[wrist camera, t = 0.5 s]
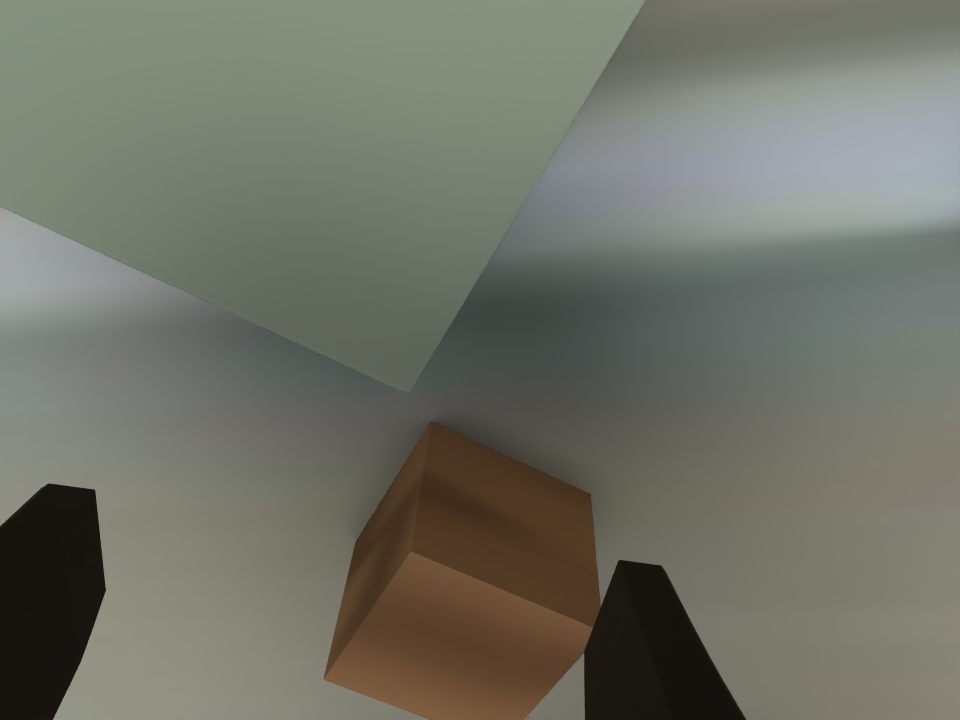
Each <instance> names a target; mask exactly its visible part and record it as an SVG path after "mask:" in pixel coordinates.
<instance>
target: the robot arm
mask: <svg viewBox="0 0 960 720" xmlns="http://www.w3.org/2000/svg"><path fill="white" fill-rule="evenodd" d="M105 591H106V588H105V579H104V569H103V560H102V550H101V541H100V531H99V522H98V512H97V503H96V494H95V490H94V489H86V488H79V487H71V486H64V485H56V484H47V485H46V486H44V487H42V488H41V489H40V490H39V491H38V492H37V493H36V494H34V495H33V496H32V497H31V498H30V499H29V500H28V501H27V502H26V503H25V504H24V505H23V506H22V507H20V508H19V509H18V510H17V511H16V512H15V513H14V514H13V515H12V516H11V517H10V518H9V519H8V520H7V521H5V522H4V523H3V524H2V525H1V526H0V720H53V718H54V716H55V714H56V712H57V710H58V708H59V706H60V704H61V702H62V700H63V698H64V696H65V694H66V691H67V689H68V687H69V685H70V683H71V681H72V679H73V677H74V675H75V673H76V671H77V669H78V666H79V664H80V662H81V660H82V657H83V654H84V651H85V649H86V646H87V643H88V640H89V638H90V635H91V632H92V629H93V626H94V623H95V621H96V618H97V615H98V612H99V609H100V606H101V603H102V600H103V597H104V594H105ZM584 685H585V720H746V719H745V717H744V715H743V713H742V712H741V710H740V708H739V707H738V705H737V703H736V702H735V700H734V698H733V696H732V695H731V693H730V691H729V690H728V688H727V686H726V684H725V683H724V681H723V679H722V678H721V676H720V674H719V672H718V671H717V669H716V667H715V665H714V663H713V662H712V660H711V658H710V656H709V654H708V653H707V651H706V649H705V647H704V645H703V643H702V641H701V639H700V638H699V636H698V634H697V632H696V630H695V628H694V626H693V624H692V622H691V621H690V619H689V617H688V615H687V613H686V611H685V609H684V607H683V605H682V603H681V601H680V599H679V597H678V595H677V593H676V591H675V589H674V587H673V585H672V583H671V581H670V579H669V577H668V575H667V573H666V572H665V570H664V569H663V567H662V566H660V565H653V564H646V563H638V562H631V561H623V560H619V561H618V564H617V566H616V569H615V572H614V574H613V577H612V579H611V582H610V585H609V587H608V590H607V592H606V595H605V598H604V600H603V603H602V606H601V608H600V611H599V613H598V616H597V619H596V621H595V624H594V626H593V629H592V632H591V634H590V637H589V640H588V642H587V645H586V647H585V650H584Z"/></svg>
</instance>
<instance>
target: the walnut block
mask: <svg viewBox="0 0 960 720" xmlns="http://www.w3.org/2000/svg"><path fill="white" fill-rule="evenodd" d="M600 608H601V605H600V594H599V583H598V572H597V561H596V549H595V538H594V527H593V516H592V505H591V494H589V493H587V492H584V491H582V490H580V489H578V488H576V487H573V486H571V485H569V484H567V483H565V482H562V481H560V480H558V479H556V478H554V477H551V476H549V475H547V474H545V473H543V472H540V471H538V470H536V469H534V468H532V467H529V466H527V465H525V464H523V463H521V462H518V461H516V460H514V459H512V458H510V457H508V456H505V455H503V454H501V453H499V452H497V451H494V450H492V449H490V448H488V447H486V446H483V445H481V444H479V443H477V442H475V441H472V440H470V439H468V438H466V437H464V436H461V435H459V434H457V433H455V432H453V431H450V430H448V429H446V428H444V427H442V426H439V425H437V424H435V423H433V422H431V423H430V424H429V426H428V427H427V429H426V431H425V432H424V434H423V435H422V437H421V439H420V440H419V442H418V443H417V445H416V447H415V448H414V450H413V451H412V453H411V455H410V456H409V458H408V459H407V461H406V462H405V464H404V466H403V467H402V469H401V470H400V472H399V474H398V475H397V477H396V478H395V480H394V482H393V483H392V485H391V486H390V488H389V490H388V491H387V493H386V494H385V496H384V497H383V499H382V501H381V502H380V504H379V505H378V507H377V509H376V510H375V512H374V513H373V515H372V517H371V518H370V520H369V521H368V523H367V525H366V526H365V528H364V529H363V531H362V532H361V534H360V536H359V537H358V539H357V540H356V543H355V547H354V551H353V556H352V560H351V564H350V568H349V573H348V577H347V581H346V586H345V590H344V594H343V598H342V603H341V607H340V611H339V615H338V620H337V624H336V628H335V633H334V637H333V641H332V645H331V650H330V654H329V658H328V663H327V667H326V671H325V675H324V680H326V681H329V682H332V683H334V684H337V685H340V686H342V687H345V688H348V689H350V690H353V691H356V692H358V693H361V694H364V695H366V696H369V697H372V698H374V699H377V700H379V701H382V702H385V703H387V704H390V705H393V706H395V707H398V708H401V709H403V710H406V711H409V712H411V713H414V714H417V715H419V716H422V717H425V718H427V719H430V720H524V719H525V718H526V716H527V715H528V714H529V713H530V712H531V711H532V710H533V709H534V708H535V707H536V705H537V704H538V703H539V702H540V701H541V700H542V699H543V698H544V697H545V695H546V694H547V693H548V692H549V691H550V690H551V689H552V688H553V687H554V685H555V684H556V683H557V682H558V681H559V680H560V679H561V678H562V677H563V676H564V674H565V673H566V672H567V671H568V670H569V669H570V668H571V667H572V666H573V664H574V663H575V662H576V661H577V660H578V659H579V658H580V657H581V656H582V654H583V653H584V650H585V647H586V645H587V642H588V640H589V637H590V634H591V632H592V629H593V626H594V624H595V621H596V619H597V616H598V613H599V611H600Z"/></svg>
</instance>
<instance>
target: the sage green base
mask: <svg viewBox="0 0 960 720" xmlns="http://www.w3.org/2000/svg"><path fill="white" fill-rule="evenodd" d="M644 2H645V0H0V207H2V208H4V209H6V210H8V211H11V212H13V213H15V214H17V215H19V216H21V217H24V218H26V219H28V220H30V221H32V222H35V223H37V224H39V225H41V226H43V227H45V228H48V229H50V230H52V231H54V232H56V233H58V234H61V235H63V236H65V237H67V238H69V239H71V240H74V241H76V242H78V243H80V244H82V245H85V246H87V247H89V248H91V249H93V250H95V251H98V252H100V253H102V254H104V255H106V256H108V257H111V258H113V259H115V260H117V261H119V262H121V263H124V264H126V265H128V266H130V267H132V268H134V269H137V270H139V271H141V272H143V273H145V274H148V275H150V276H152V277H154V278H156V279H158V280H161V281H163V282H165V283H167V284H169V285H171V286H174V287H176V288H178V289H180V290H182V291H184V292H187V293H189V294H191V295H193V296H195V297H197V298H200V299H202V300H204V301H206V302H208V303H211V304H213V305H215V306H217V307H219V308H221V309H224V310H226V311H228V312H230V313H232V314H234V315H237V316H239V317H241V318H243V319H245V320H247V321H250V322H252V323H254V324H256V325H258V326H261V327H263V328H265V329H267V330H269V331H271V332H274V333H276V334H278V335H280V336H282V337H284V338H287V339H289V340H291V341H293V342H295V343H297V344H300V345H302V346H304V347H306V348H308V349H310V350H313V351H315V352H317V353H319V354H321V355H324V356H326V357H328V358H330V359H332V360H334V361H337V362H339V363H341V364H343V365H345V366H347V367H350V368H352V369H354V370H356V371H358V372H360V373H363V374H365V375H367V376H369V377H371V378H374V379H376V380H378V381H380V382H382V383H384V384H387V385H389V386H391V387H393V388H395V389H397V390H400V391H402V392H404V393H406V394H408V395H409V393H410V392H411V390H412V388H413V387H414V385H415V383H416V382H417V380H418V378H419V377H420V375H421V373H422V372H423V370H424V368H425V367H426V365H427V363H428V362H429V360H430V358H431V357H432V355H433V353H434V352H435V350H436V348H437V347H438V345H439V343H440V342H441V340H442V338H443V337H444V335H445V333H446V332H447V330H448V328H449V327H450V325H451V323H452V322H453V320H454V318H455V317H456V315H457V313H458V312H459V310H460V308H461V307H462V305H463V303H464V302H465V300H466V298H467V297H468V295H469V293H470V292H471V290H472V288H473V287H474V285H475V283H476V282H477V280H478V278H479V277H480V275H481V273H482V272H483V270H484V268H485V267H486V265H487V263H488V262H489V260H490V259H491V257H492V255H493V254H494V252H495V250H496V249H497V247H498V245H499V244H500V242H501V240H502V239H503V237H504V235H505V234H506V232H507V230H508V229H509V227H510V225H511V224H512V222H513V220H514V219H515V217H516V215H517V214H518V212H519V210H520V209H521V207H522V205H523V204H524V202H525V200H526V199H527V197H528V195H529V194H530V192H531V190H532V189H533V187H534V185H535V184H536V182H537V180H538V179H539V177H540V175H541V174H542V172H543V170H544V169H545V167H546V165H547V164H548V162H549V160H550V159H551V157H552V155H553V154H554V152H555V150H556V149H557V147H558V145H559V144H560V142H561V140H562V139H563V137H564V135H565V134H566V132H567V130H568V129H569V127H570V125H571V124H572V122H573V120H574V119H575V117H576V115H577V114H578V112H579V110H580V109H581V107H582V105H583V104H584V102H585V100H586V99H587V97H588V95H589V94H590V92H591V90H592V89H593V87H594V85H595V84H596V82H597V80H598V79H599V77H600V75H601V74H602V72H603V70H604V69H605V67H606V65H607V64H608V62H609V60H610V59H611V57H612V55H613V54H614V52H615V50H616V49H617V47H618V45H619V44H620V42H621V40H622V39H623V37H624V35H625V34H626V32H627V30H628V29H629V27H630V25H631V24H632V22H633V20H634V19H635V17H636V15H637V14H638V12H639V10H640V9H641V7H642V5H643V4H644Z"/></svg>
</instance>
